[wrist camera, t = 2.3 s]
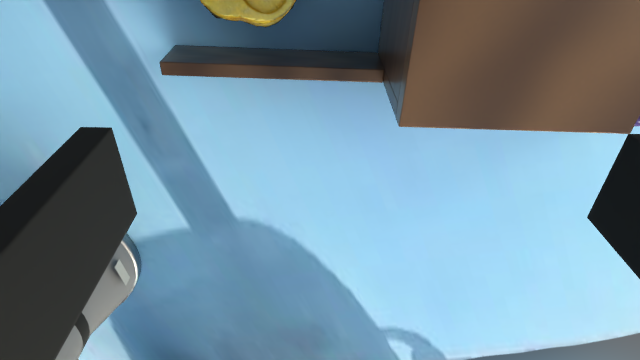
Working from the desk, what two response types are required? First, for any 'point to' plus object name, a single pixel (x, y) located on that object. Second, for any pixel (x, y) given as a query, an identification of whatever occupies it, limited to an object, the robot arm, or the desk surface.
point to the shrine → (250, 10)
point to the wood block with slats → (473, 64)
